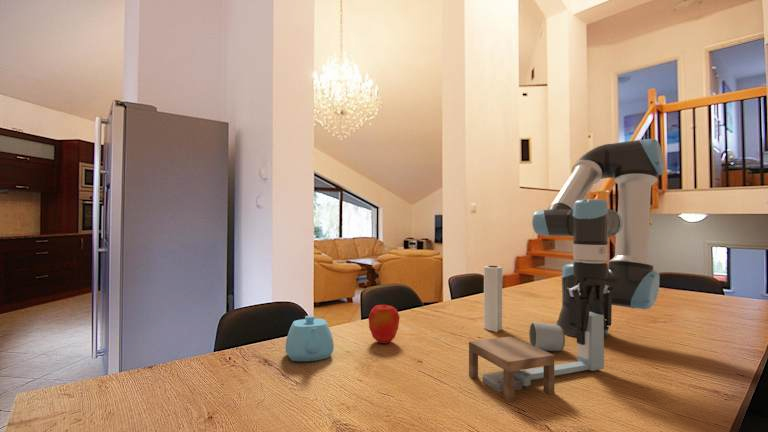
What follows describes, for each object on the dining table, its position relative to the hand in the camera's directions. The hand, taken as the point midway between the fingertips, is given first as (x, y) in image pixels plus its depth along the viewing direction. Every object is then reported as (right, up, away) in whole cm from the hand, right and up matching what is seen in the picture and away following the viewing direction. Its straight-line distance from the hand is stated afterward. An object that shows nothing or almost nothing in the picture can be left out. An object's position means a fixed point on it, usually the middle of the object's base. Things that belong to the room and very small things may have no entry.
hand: (590, 355), depth 93 cm
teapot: (-71, -3, +7) cm, 71 cm away
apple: (-51, -4, +20) cm, 55 cm away
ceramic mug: (-5, -4, +16) cm, 17 cm away
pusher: (-10, -2, -4) cm, 11 cm away
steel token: (-25, -3, -9) cm, 27 cm away
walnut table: (-23, -3, -9) cm, 25 cm away
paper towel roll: (-14, -4, +35) cm, 38 cm away
